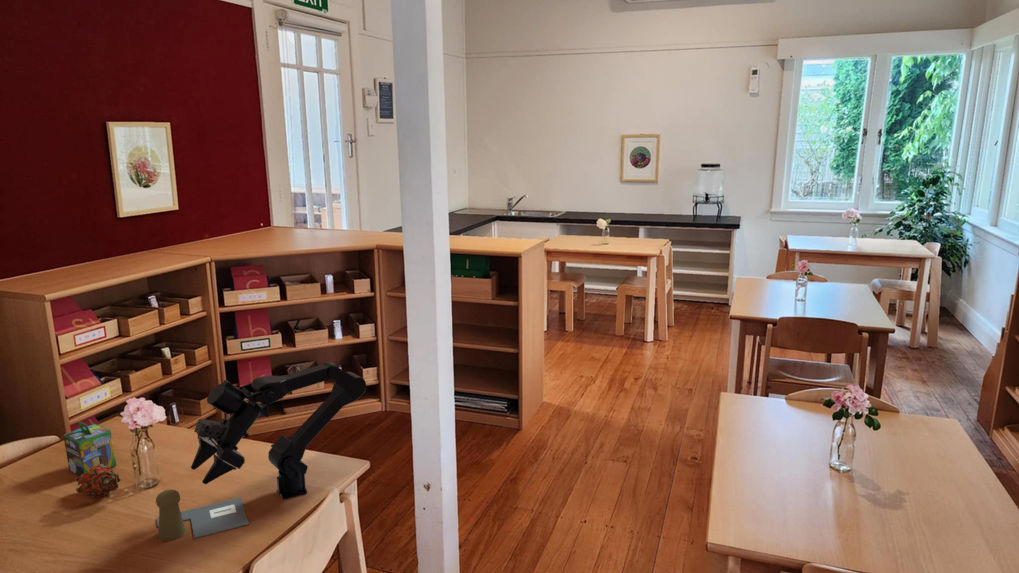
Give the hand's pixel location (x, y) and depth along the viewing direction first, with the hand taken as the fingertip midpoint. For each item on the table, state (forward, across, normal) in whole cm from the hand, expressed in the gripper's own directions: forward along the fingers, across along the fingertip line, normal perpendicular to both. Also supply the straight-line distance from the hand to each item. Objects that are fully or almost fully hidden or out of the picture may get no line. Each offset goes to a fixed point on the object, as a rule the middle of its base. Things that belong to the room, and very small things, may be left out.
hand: (197, 476), depth 165 cm
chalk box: (+20, -50, -2) cm, 54 cm away
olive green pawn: (+14, 0, +4) cm, 15 cm away
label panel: (+9, -1, +9) cm, 13 cm away
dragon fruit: (+21, -32, -3) cm, 39 cm away
